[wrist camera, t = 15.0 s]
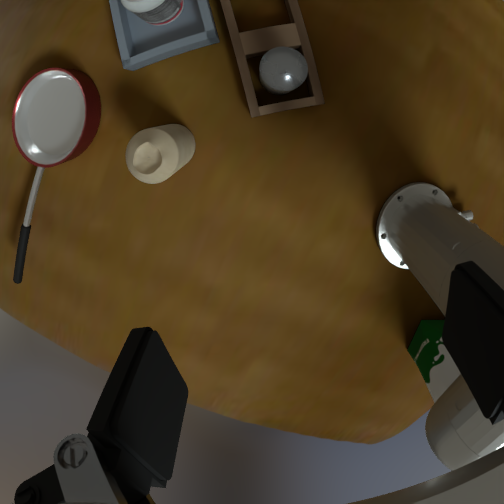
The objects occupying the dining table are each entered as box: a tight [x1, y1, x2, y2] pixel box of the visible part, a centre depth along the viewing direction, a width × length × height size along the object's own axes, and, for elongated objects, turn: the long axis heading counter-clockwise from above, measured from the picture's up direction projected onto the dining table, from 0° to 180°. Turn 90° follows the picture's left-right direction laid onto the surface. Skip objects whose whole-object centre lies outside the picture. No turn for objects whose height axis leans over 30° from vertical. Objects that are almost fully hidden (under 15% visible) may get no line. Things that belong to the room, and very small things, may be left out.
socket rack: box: [220, 0, 325, 118], centre depth 27 cm, size 8×26×2 cm, turn 13°
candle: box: [126, 124, 195, 184], centre depth 31 cm, size 6×6×10 cm
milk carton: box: [408, 320, 461, 403], centre depth 39 cm, size 9×9×20 cm
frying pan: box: [12, 68, 101, 284], centre depth 34 cm, size 32×13×6 cm, turn 159°
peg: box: [259, 47, 308, 95], centre depth 28 cm, size 4×4×8 cm
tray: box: [109, 0, 220, 71], centre depth 26 cm, size 11×14×3 cm
